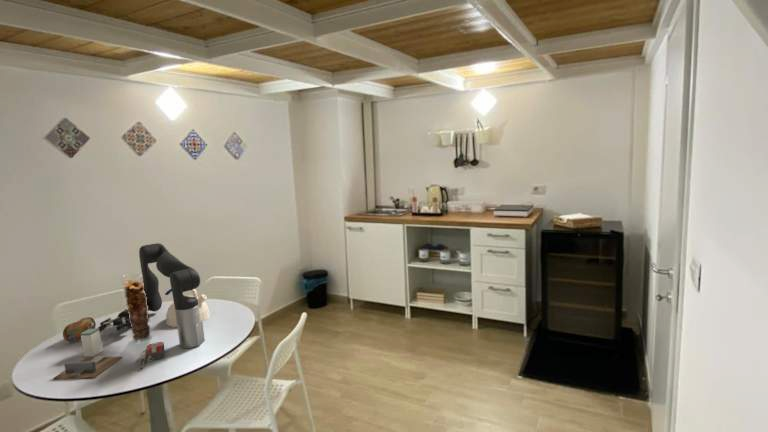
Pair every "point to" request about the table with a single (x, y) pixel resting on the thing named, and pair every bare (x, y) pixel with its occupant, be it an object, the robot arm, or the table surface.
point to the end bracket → (80, 367)
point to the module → (91, 342)
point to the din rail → (96, 359)
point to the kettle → (202, 305)
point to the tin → (78, 329)
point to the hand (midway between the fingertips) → (108, 329)
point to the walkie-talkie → (152, 353)
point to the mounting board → (99, 369)
